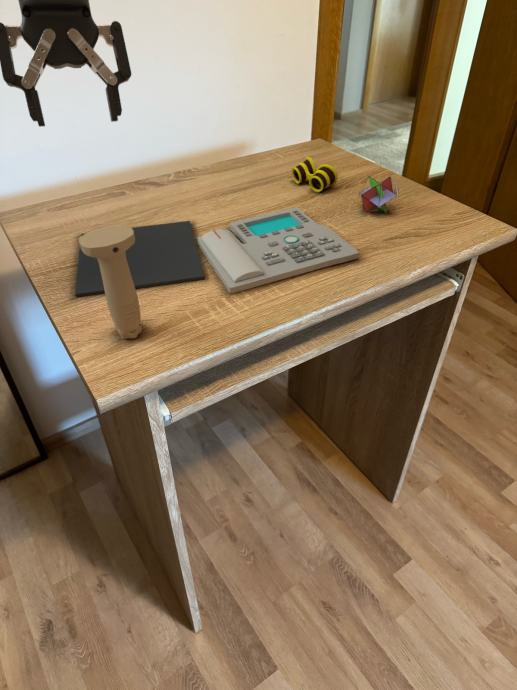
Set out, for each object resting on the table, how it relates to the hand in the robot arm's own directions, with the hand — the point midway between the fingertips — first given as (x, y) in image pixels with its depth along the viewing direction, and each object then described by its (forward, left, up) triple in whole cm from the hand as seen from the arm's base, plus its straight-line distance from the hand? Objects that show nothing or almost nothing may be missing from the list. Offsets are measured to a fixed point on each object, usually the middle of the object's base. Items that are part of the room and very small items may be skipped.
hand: (78, 123), depth 59 cm
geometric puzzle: (+49, +16, -25) cm, 58 cm away
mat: (+3, +10, -25) cm, 27 cm away
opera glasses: (+41, +31, -25) cm, 57 cm away
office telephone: (+26, +7, -25) cm, 37 cm away
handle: (+1, -11, -25) cm, 27 cm away
